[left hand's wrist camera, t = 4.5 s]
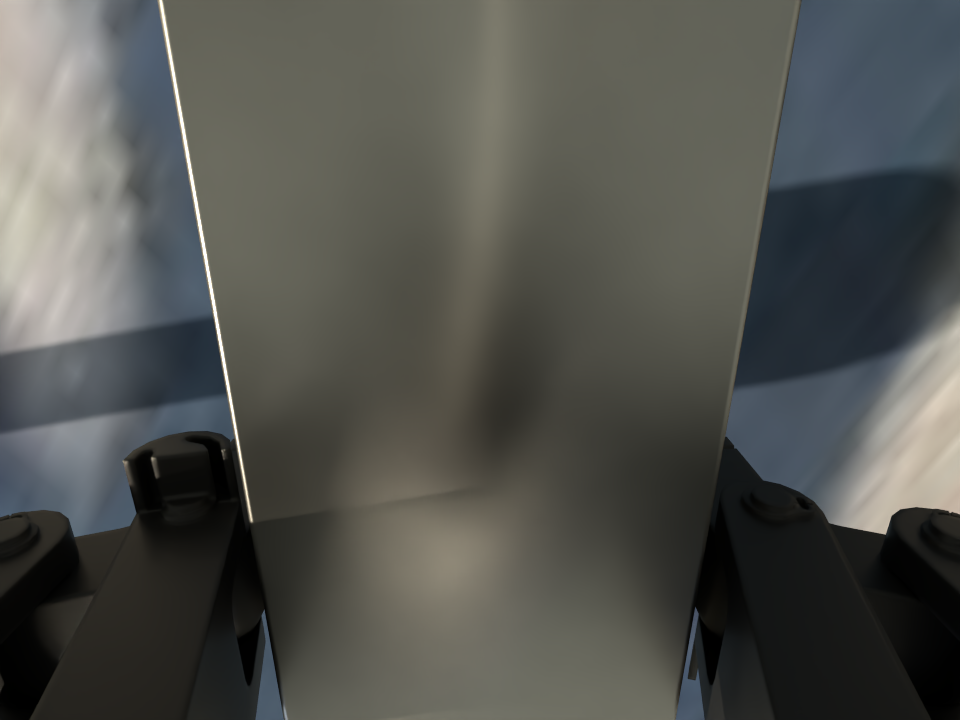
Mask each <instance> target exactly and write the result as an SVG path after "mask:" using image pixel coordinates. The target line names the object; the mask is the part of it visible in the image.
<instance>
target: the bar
mask: <svg viewBox="0 0 960 720" xmlns="http://www.w3.org/2000/svg"><path fill="white" fill-rule="evenodd" d="M801 1H802V0H158V6H159V12H160V17H161V23H162V29H163V34H164V40H165V46H166V51H167V57H168V63H169V68H170V74H171V80H172V85H173V91H174V97H175V103H176V108H177V114H178V120H179V125H180V131H181V137H182V142H183V148H184V154H185V159H186V165H187V171H188V176H189V182H190V188H191V194H192V199H193V205H194V211H195V216H196V222H197V228H198V233H199V239H200V245H201V250H202V256H203V262H204V267H205V273H206V279H207V285H208V290H209V296H210V302H211V307H212V313H213V319H214V324H215V330H216V336H217V341H218V347H219V353H220V358H221V364H222V370H223V376H224V381H225V387H226V393H227V398H228V404H229V410H230V415H231V421H232V427H233V432H234V438H235V444H236V449H237V455H238V461H239V467H240V472H241V478H242V484H243V489H244V495H245V501H246V506H247V512H248V518H249V523H250V529H251V535H252V540H253V546H254V552H255V558H256V563H257V569H258V575H259V580H260V586H261V592H262V597H263V603H264V609H265V614H266V620H267V626H268V631H269V637H270V643H271V649H272V654H273V660H274V666H275V671H276V677H277V683H278V688H279V694H280V700H281V705H282V711H283V717H284V720H675V719H676V713H677V707H678V702H679V696H680V690H681V684H682V679H683V673H684V667H685V662H686V656H687V650H688V645H689V639H690V633H691V627H692V622H693V616H694V610H695V605H696V599H697V593H698V588H699V582H700V576H701V570H702V565H703V559H704V553H705V548H706V542H707V536H708V531H709V525H710V519H711V513H712V508H713V502H714V496H715V491H716V485H717V479H718V474H719V468H720V462H721V456H722V451H723V445H724V439H725V434H726V428H727V422H728V417H729V411H730V405H731V399H732V394H733V388H734V382H735V377H736V371H737V365H738V360H739V354H740V348H741V343H742V337H743V331H744V325H745V320H746V314H747V308H748V303H749V297H750V291H751V286H752V280H753V274H754V268H755V263H756V257H757V251H758V246H759V240H760V234H761V229H762V223H763V217H764V211H765V206H766V200H767V194H768V189H769V183H770V177H771V172H772V166H773V160H774V154H775V149H776V143H777V137H778V132H779V126H780V120H781V115H782V109H783V103H784V97H785V92H786V86H787V80H788V75H789V69H790V63H791V58H792V52H793V46H794V40H795V35H796V29H797V23H798V18H799V12H800V6H801Z"/></svg>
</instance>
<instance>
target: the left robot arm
mask: <svg viewBox="0 0 960 720" xmlns="http://www.w3.org/2000/svg"><path fill="white" fill-rule="evenodd" d="M123 463H124V467H125V471H126V474H127V478H128V482H129V486H130V490H131V494H132V497H133V501H134V505H135V509H136V513H137V514H136V516H135V518H134V520H133V521H132V523H131V525H130V526H128V527H124V528H120V529H116V530H110V531H105V532H100V533H95V534H89V535H84V536H79V537H74V535H73V531H72V528H71V525H70V522H69V519H68V518H67V517H66V516H64V515H63V514H62V513H60V512H55V511H47V510H40V511H30V512H19V513H14V514H12V515H11V516H9V515H7V516H3V517H0V720H255V718H256V711H257V703H258V695H259V687H260V680H261V672H262V664H263V657H264V649H265V634H264V627H263V622H262V616H261V615H262V613H263V611H264V603H263V597H262V592H261V586H260V580H259V575H258V569H257V563H256V558H255V552H254V546H253V540H252V535H251V529H250V523H249V518H248V512H247V506H246V501H245V495H244V489H243V484H242V478H241V472H240V467H239V461H238V455H237V449H236V444H235V439H233V440H232V441H231V442H230V440H229V439H228V438H226V437H225V436H224V435H222V434H219V433H214V432H209V431H191V432H184V433H178V434H173V435H168V436H165V437H162V438H159V439H156V440H153V441H150V442H148V443H146V444H145V445H143V446H141V447H139V448H137V449H135V450H134V451H132V452H131V453H130V454H129V455H128V456H127V457H126V458H125V459H124V460H123ZM695 607H696V609H697V611H698V613H699V616H698V622H697V627H696V633H695V638H694V644H693V650H692V655H691V661H690V666H689V673H688V679H692V680H696V675H697V670H698V671H699V678H700V686H701V694H702V702H703V709H704V717H705V720H960V514H957V513H953V512H951V513H949V511H945V510H940V509H928V508H918V507H915V508H907V509H900V510H899V511H898V512H896V513H895V514H894V515H892V517H891V520H890V523H889V527H888V530H887V533H886V535H884V534H879V533H874V532H869V531H863V530H858V529H853V528H848V527H842V526H838V525H834V524H830V523H829V522H828V520H827V519H826V517H825V515H824V513H823V512H822V510H821V509H820V508H819V507H818V506H817V505H816V503H815V502H814V501H812V500H811V499H809V498H808V497H806V496H805V495H803V494H802V493H800V492H798V491H796V490H793V489H791V488H788V487H786V486H783V485H781V484H777V483H772V482H768V481H763V480H762V479H761V478H760V476H759V475H758V474H757V473H756V472H755V470H754V469H753V468H752V467H751V466H750V464H749V463H748V462H747V461H746V460H745V458H744V457H743V456H742V455H741V453H740V452H739V451H738V450H737V449H734V445H733V444H732V443H731V441H730V440H729V439H728V438H727V437H725V439H724V445H723V451H722V456H721V462H720V468H719V474H718V479H717V485H716V491H715V496H714V502H713V508H712V513H711V519H710V525H709V531H708V536H707V542H706V548H705V553H704V559H703V565H702V570H701V576H700V582H699V588H698V593H697V599H696V605H695Z"/></svg>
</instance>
